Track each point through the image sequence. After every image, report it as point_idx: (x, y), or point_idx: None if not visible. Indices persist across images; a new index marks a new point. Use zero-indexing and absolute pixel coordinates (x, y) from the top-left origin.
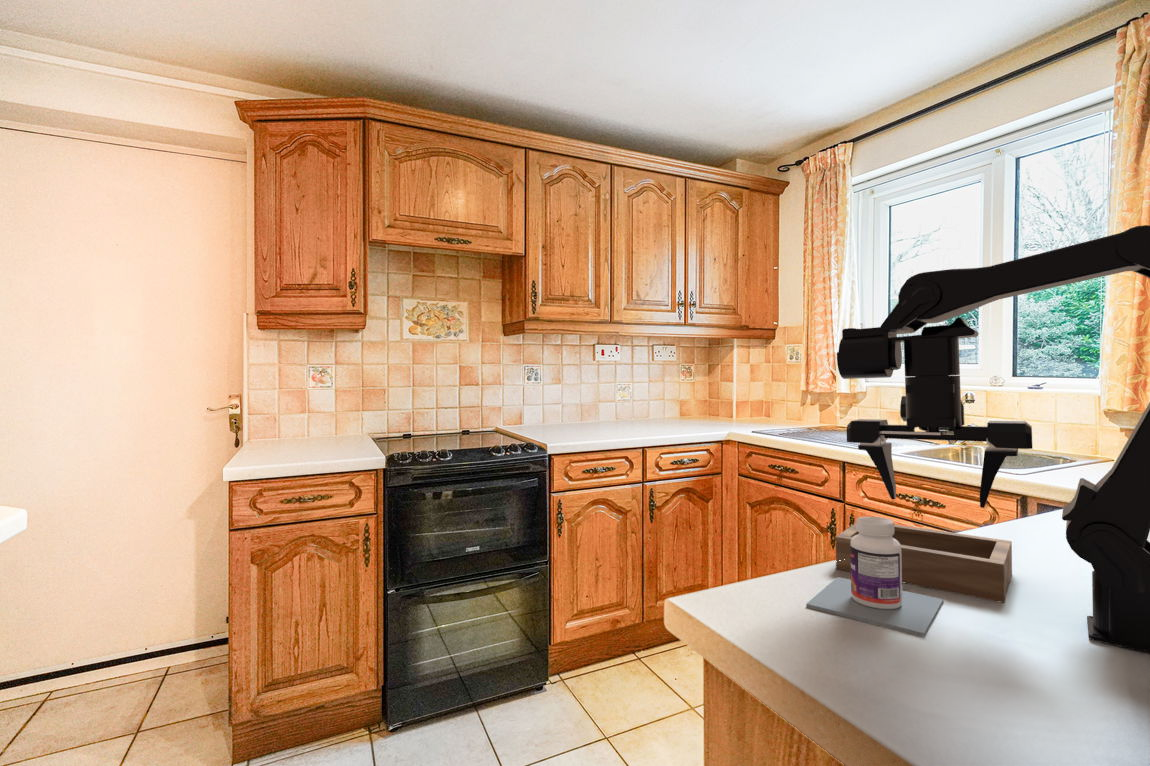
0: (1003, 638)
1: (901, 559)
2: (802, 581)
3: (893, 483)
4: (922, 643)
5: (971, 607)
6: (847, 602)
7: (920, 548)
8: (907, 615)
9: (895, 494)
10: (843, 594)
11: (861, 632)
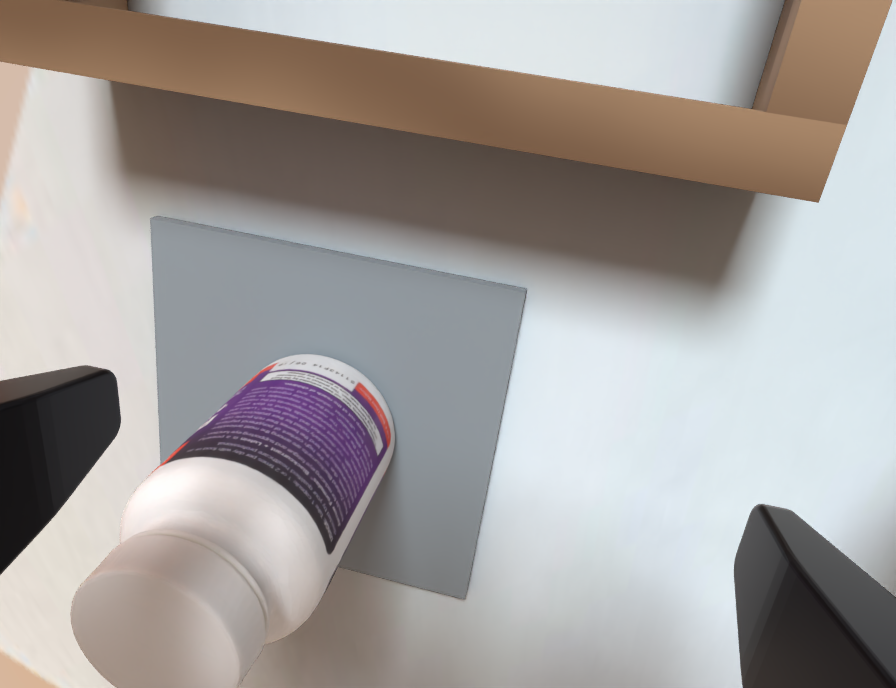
0: (672, 522)
1: (342, 529)
2: (72, 297)
3: (11, 509)
4: (463, 624)
5: (622, 289)
6: None
7: (402, 70)
8: (418, 498)
9: (92, 402)
10: (223, 404)
11: (327, 613)
